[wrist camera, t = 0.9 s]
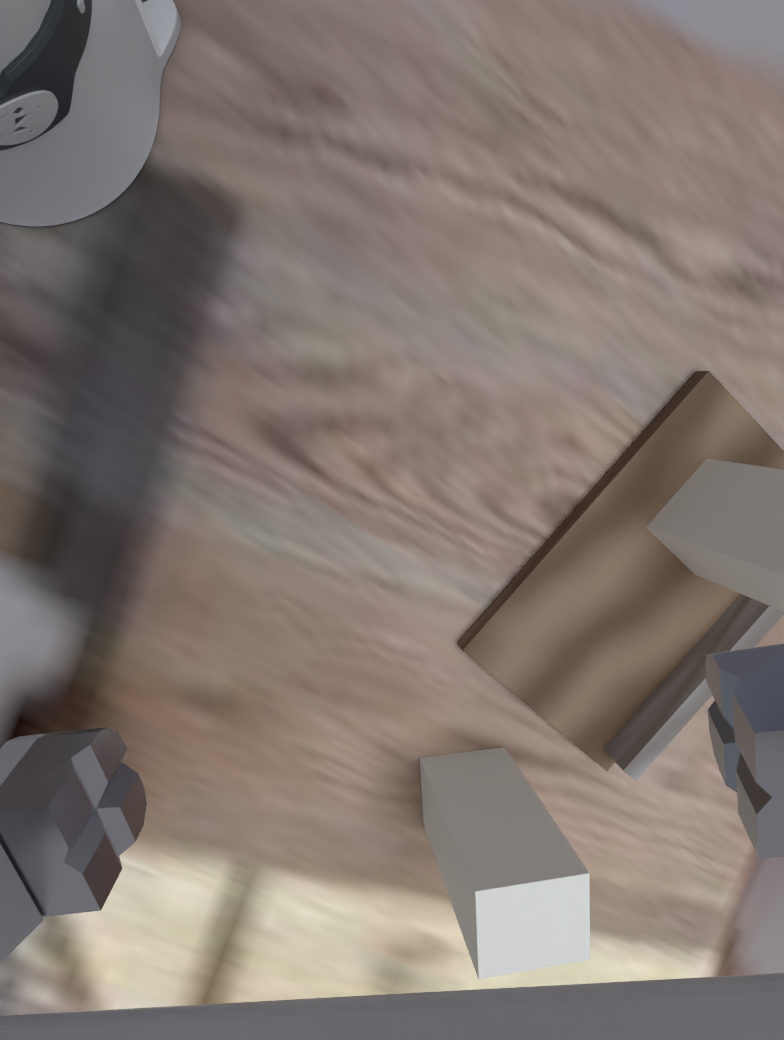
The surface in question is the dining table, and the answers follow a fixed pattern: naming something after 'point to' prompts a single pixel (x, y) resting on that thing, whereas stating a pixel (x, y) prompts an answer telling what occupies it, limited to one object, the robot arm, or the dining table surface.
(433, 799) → the cream carton
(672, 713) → the shelf board
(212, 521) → the dining table surface
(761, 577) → the carton
